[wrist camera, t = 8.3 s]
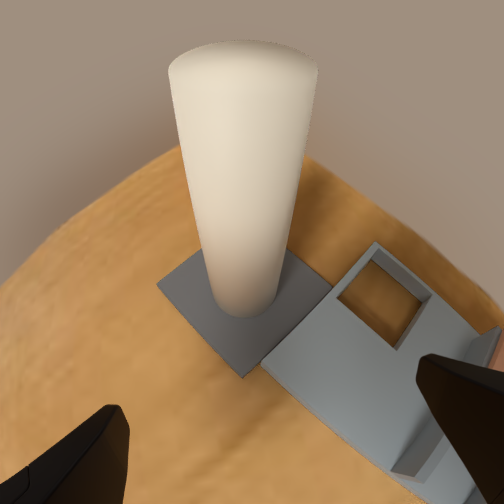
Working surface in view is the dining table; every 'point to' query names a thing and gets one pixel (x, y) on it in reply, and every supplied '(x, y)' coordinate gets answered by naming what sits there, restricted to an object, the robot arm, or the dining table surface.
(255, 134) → the peg
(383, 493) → the dining table surface
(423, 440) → the puzzle board
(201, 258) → the mat
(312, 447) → the dining table surface
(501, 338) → the cover
